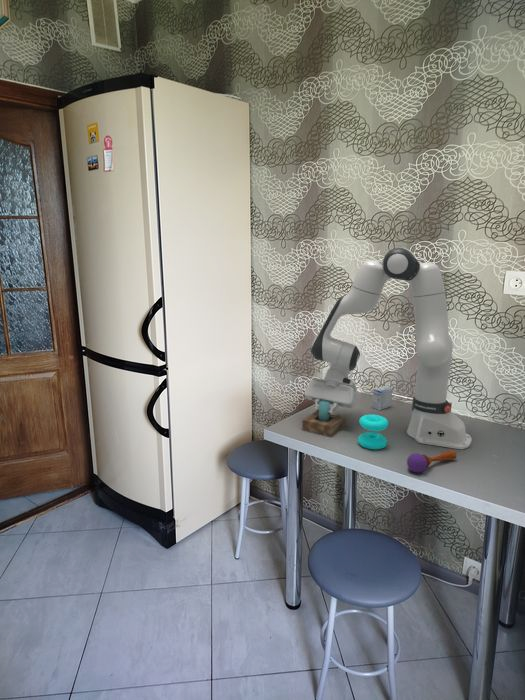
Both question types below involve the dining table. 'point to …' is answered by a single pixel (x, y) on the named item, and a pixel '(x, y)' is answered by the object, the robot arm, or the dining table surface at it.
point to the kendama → (427, 460)
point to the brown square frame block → (323, 424)
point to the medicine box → (382, 397)
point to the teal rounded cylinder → (324, 411)
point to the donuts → (372, 438)
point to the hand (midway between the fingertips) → (323, 412)
